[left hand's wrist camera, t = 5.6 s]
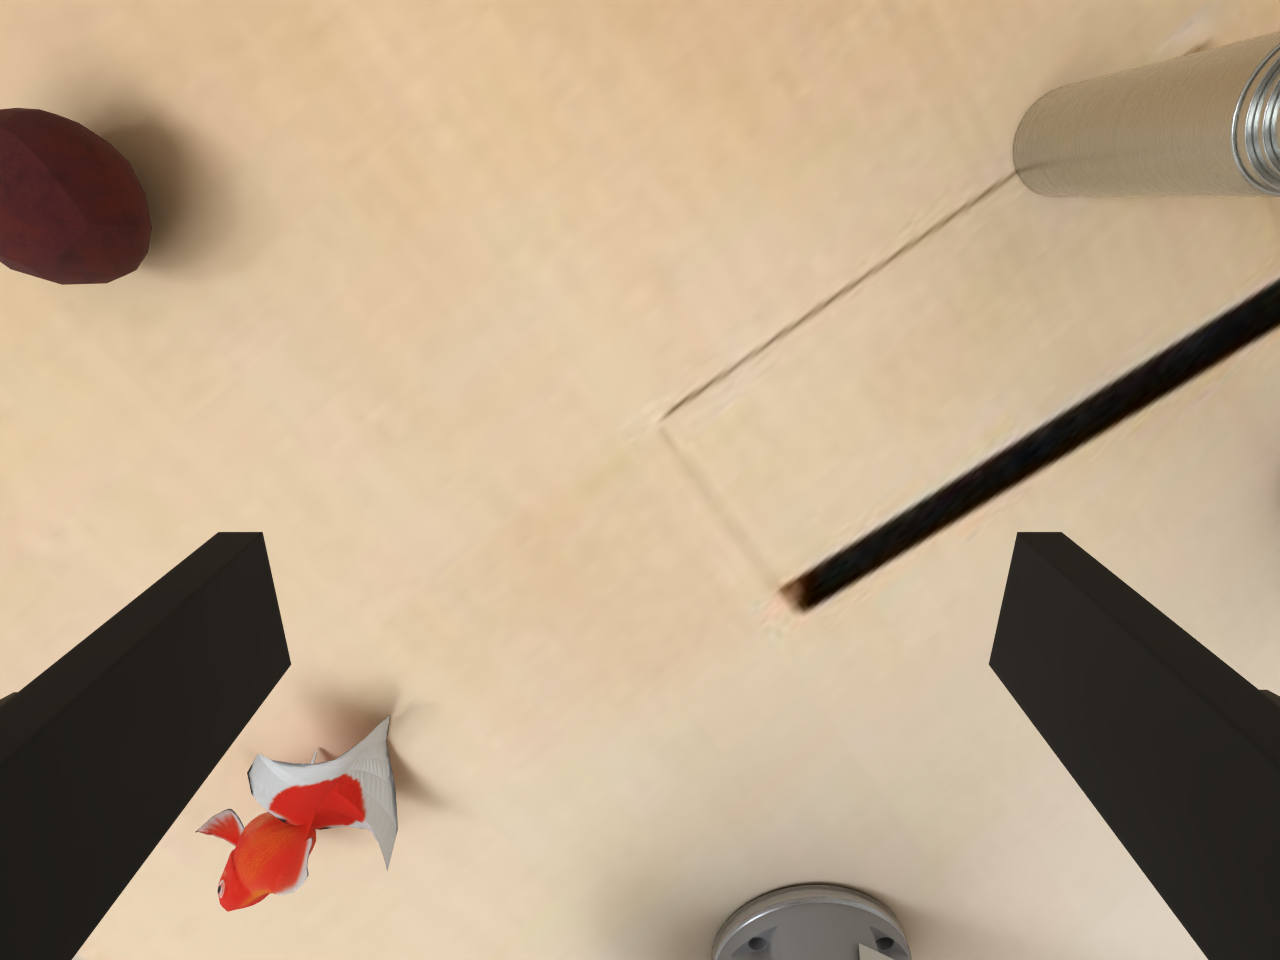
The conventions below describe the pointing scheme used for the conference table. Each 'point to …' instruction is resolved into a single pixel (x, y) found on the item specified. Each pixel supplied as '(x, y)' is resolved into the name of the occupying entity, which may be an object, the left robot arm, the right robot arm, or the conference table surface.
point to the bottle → (1162, 129)
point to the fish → (304, 817)
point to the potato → (67, 201)
